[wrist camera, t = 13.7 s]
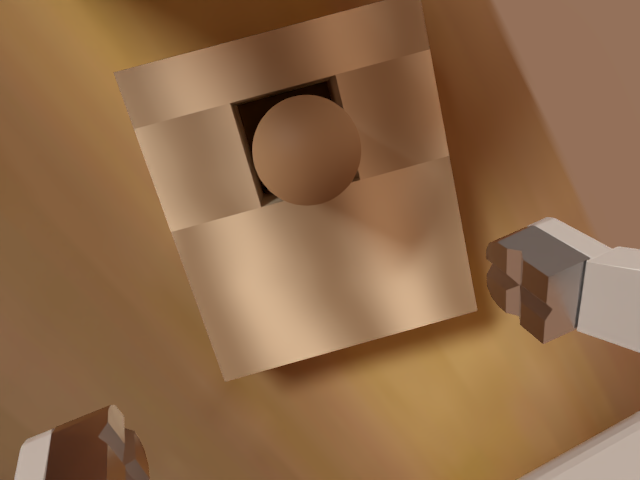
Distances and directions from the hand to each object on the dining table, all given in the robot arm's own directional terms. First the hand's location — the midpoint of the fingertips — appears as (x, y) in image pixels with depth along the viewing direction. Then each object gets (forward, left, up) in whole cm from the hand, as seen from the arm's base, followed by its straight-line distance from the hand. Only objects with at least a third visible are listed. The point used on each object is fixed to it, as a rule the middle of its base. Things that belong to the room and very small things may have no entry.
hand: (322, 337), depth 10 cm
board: (+1, 0, -18) cm, 18 cm away
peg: (+1, +3, -18) cm, 18 cm away
